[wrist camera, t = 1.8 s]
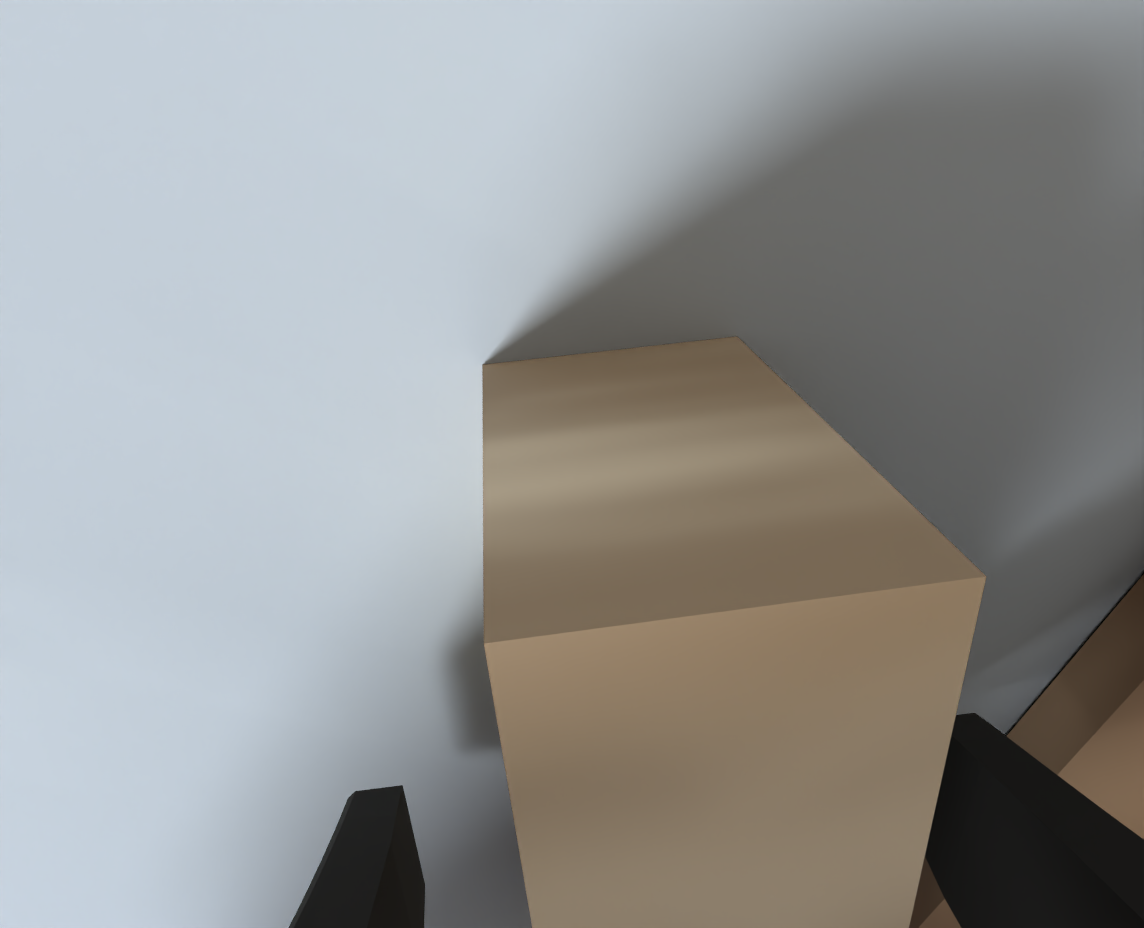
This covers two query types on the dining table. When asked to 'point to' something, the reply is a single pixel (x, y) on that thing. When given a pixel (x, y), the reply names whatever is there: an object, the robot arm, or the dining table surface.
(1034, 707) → the picture ledge
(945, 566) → the beige long rectangular block
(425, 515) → the dining table surface
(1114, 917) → the robot arm
